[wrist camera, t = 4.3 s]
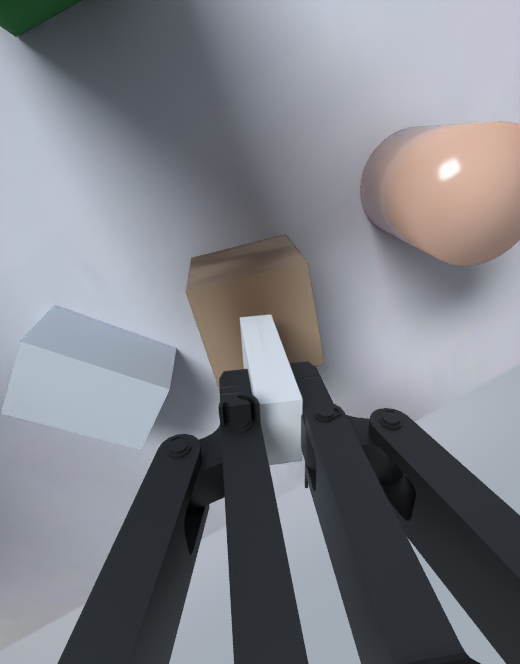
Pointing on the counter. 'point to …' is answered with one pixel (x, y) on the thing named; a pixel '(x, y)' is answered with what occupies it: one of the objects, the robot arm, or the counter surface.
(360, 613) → the robot arm
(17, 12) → the milk carton
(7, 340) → the counter surface
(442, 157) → the peach domed cylinder
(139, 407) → the grey brick
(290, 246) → the walnut cube
